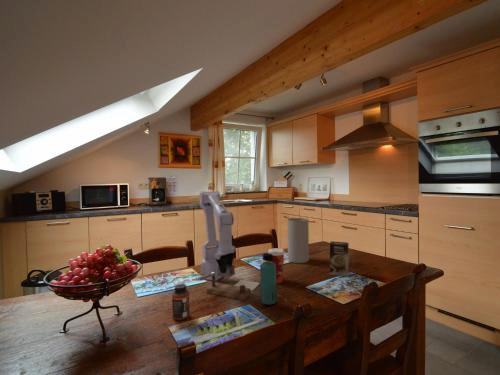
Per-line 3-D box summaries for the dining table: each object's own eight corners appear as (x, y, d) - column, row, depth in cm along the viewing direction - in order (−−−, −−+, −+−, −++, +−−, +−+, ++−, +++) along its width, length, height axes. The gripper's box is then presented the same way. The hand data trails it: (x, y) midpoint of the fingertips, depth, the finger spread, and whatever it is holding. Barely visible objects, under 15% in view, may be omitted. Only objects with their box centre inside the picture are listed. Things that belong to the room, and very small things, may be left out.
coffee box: (329, 274, 132) (329, 243, 132) (330, 270, 138) (330, 240, 138) (348, 277, 129) (348, 245, 129) (348, 272, 135) (348, 242, 135)
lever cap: (217, 275, 113) (217, 266, 112) (222, 272, 117) (222, 263, 116) (229, 277, 110) (229, 268, 110) (234, 273, 114) (234, 265, 114)
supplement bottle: (190, 319, 92) (189, 288, 92) (172, 322, 90) (171, 290, 90) (189, 311, 98) (188, 281, 97) (172, 314, 96) (171, 283, 96)
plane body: (206, 292, 114) (206, 277, 114) (215, 286, 120) (214, 272, 120) (243, 299, 106) (242, 283, 106) (250, 293, 113) (250, 277, 112)
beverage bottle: (272, 310, 98) (271, 257, 97) (257, 305, 101) (256, 255, 101) (280, 302, 103) (279, 253, 103) (265, 299, 107) (264, 251, 106)
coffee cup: (284, 284, 121) (283, 252, 121) (266, 283, 123) (266, 252, 122) (285, 278, 129) (285, 248, 129) (269, 277, 131) (268, 247, 130)
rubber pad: (232, 287, 119) (232, 286, 119) (241, 280, 127) (241, 279, 127) (252, 291, 114) (252, 290, 114) (259, 283, 123) (259, 282, 123)
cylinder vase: (285, 258, 162) (285, 218, 162) (304, 257, 164) (304, 217, 163) (291, 264, 150) (290, 221, 149) (311, 263, 151) (311, 220, 151)
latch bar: (213, 273, 118) (213, 271, 118) (216, 274, 116) (216, 272, 116) (197, 279, 111) (197, 277, 111) (201, 281, 109) (200, 278, 109)
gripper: (224, 244, 105) (225, 278, 105) (240, 237, 118) (241, 266, 118) (210, 243, 108) (210, 275, 108) (227, 236, 121) (227, 264, 121)
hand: (225, 270), depth 113 cm, fingers closed on lever cap, 4 cm apart
